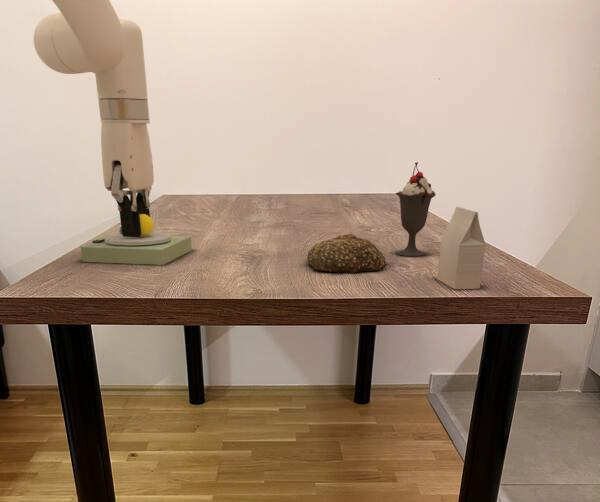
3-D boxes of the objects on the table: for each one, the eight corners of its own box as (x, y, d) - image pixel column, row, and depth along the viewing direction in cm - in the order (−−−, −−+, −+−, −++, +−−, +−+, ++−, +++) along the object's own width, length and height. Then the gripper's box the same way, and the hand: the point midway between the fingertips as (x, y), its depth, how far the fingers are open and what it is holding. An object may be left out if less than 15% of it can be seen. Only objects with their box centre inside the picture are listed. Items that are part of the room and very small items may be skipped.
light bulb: (156, 236, 107) (147, 216, 104) (123, 246, 107) (113, 226, 105) (157, 227, 109) (149, 207, 107) (125, 237, 110) (116, 218, 107)
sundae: (401, 258, 108) (408, 162, 102) (386, 251, 114) (392, 160, 108) (436, 256, 110) (445, 162, 103) (419, 250, 116) (427, 160, 109)
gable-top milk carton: (454, 289, 87) (462, 212, 83) (437, 279, 93) (444, 207, 89) (479, 288, 88) (489, 212, 83) (460, 278, 94) (469, 206, 89)
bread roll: (305, 273, 97) (306, 239, 94) (307, 258, 108) (307, 227, 106) (390, 274, 96) (392, 240, 94) (383, 259, 107) (385, 228, 105)
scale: (82, 261, 104) (79, 241, 103) (118, 247, 117) (116, 229, 115) (163, 265, 102) (161, 244, 101) (191, 250, 114) (190, 231, 113)
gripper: (124, 114, 108) (135, 227, 116) (76, 112, 93) (94, 241, 101) (166, 114, 107) (175, 228, 115) (125, 112, 92) (138, 243, 100)
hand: (137, 233), depth 108 cm, fingers closed on light bulb, 3 cm apart
